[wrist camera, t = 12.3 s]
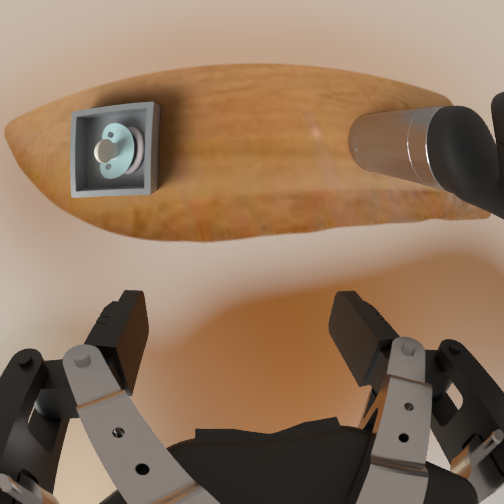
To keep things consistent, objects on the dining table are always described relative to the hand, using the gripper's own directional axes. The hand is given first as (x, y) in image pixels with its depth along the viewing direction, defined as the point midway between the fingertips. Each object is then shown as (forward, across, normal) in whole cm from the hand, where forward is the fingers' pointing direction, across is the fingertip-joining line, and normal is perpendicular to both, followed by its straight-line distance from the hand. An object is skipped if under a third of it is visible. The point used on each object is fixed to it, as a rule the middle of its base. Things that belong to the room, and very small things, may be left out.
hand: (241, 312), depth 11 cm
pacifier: (+27, +14, -6) cm, 31 cm away
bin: (+28, +15, -7) cm, 33 cm away
